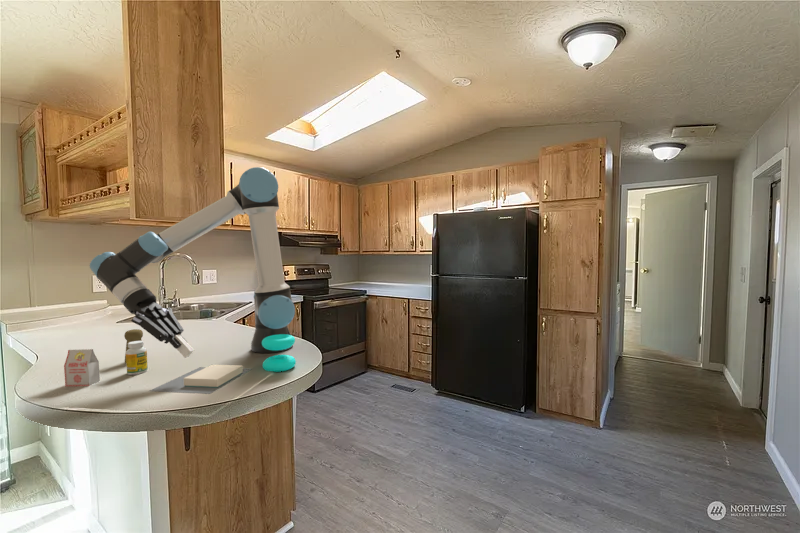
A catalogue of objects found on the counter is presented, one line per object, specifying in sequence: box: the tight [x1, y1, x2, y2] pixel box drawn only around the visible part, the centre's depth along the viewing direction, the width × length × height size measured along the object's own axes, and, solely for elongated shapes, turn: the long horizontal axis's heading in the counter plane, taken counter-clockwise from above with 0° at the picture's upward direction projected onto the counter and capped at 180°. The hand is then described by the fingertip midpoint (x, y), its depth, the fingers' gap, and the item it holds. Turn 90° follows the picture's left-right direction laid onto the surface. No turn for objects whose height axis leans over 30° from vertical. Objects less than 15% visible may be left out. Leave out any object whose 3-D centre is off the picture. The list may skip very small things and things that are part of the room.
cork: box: [123, 328, 144, 365], centre depth 128 cm, size 6×6×11 cm
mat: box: [149, 366, 253, 395], centre depth 107 cm, size 18×20×1 cm
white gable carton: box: [63, 348, 101, 387], centre depth 106 cm, size 4×7×10 cm, turn 90°
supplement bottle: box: [125, 340, 149, 376], centre depth 116 cm, size 5×5×10 cm
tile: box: [184, 364, 244, 388], centre depth 106 cm, size 2×12×10 cm
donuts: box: [262, 334, 297, 373], centre depth 117 cm, size 10×10×10 cm
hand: (189, 353), depth 107 cm, fingers closed
